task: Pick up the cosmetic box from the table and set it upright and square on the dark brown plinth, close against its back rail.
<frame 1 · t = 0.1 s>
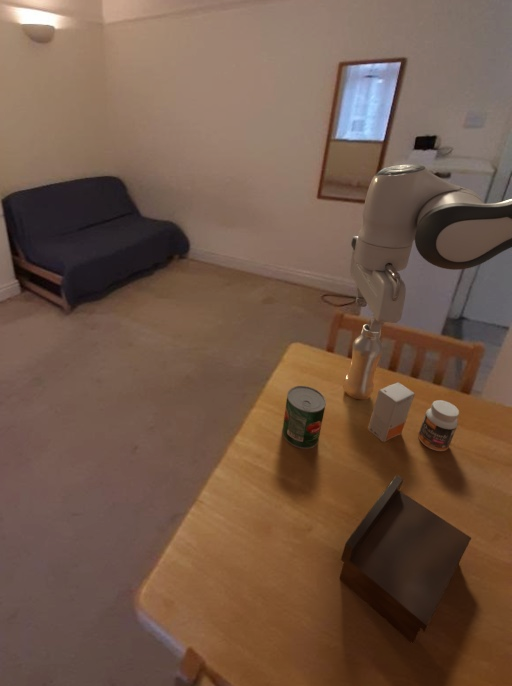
hand: (367, 316, 81), 30 cm above the table, tool pointing down, fingers open, 8 cm apart
plastic bottle: (356, 394, 102), on the table
canned tomato: (300, 435, 92), on the table
pill bottle: (432, 442, 89), on the table
cosmetic box: (384, 432, 92), on the table
dark brown plinth: (398, 567, 67), on the table
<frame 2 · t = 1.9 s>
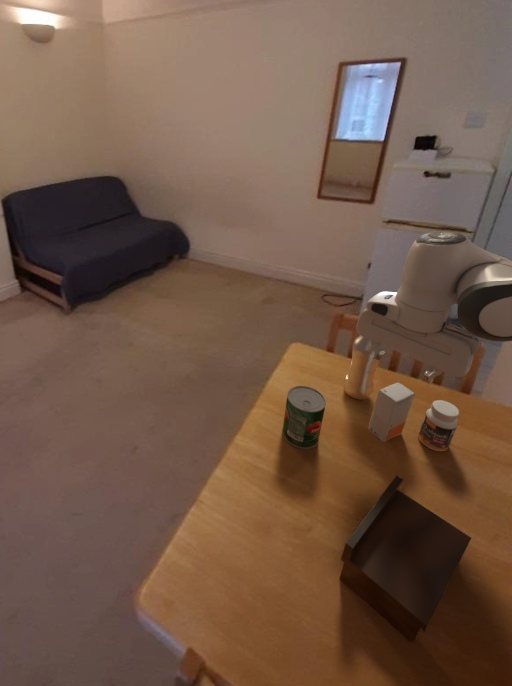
hand: (401, 369, 84), 18 cm above the table, tool pointing down, fingers open, 8 cm apart
nothing on the table moved.
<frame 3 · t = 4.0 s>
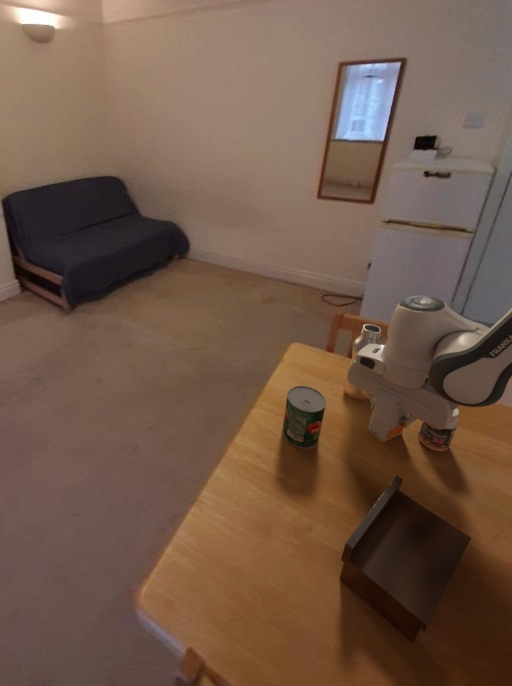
hand: (389, 417, 89), 5 cm above the table, tool pointing down, fingers closed on cosmetic box, 5 cm apart
cosmetic box: (384, 432, 92), on the table, touching gripper
everything else where it was.
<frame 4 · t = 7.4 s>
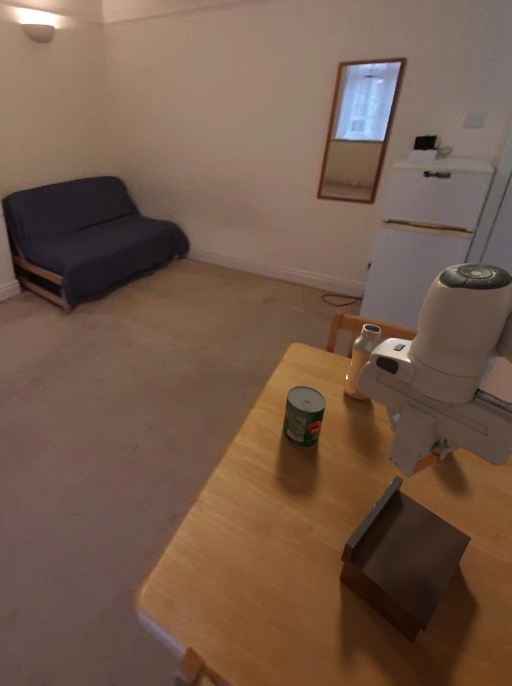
hand: (416, 442, 63), 21 cm above the table, tool pointing down, fingers closed on cosmetic box, 5 cm apart
cosmetic box: (409, 462, 65), point 17 cm above the table, touching gripper
everything else where it was.
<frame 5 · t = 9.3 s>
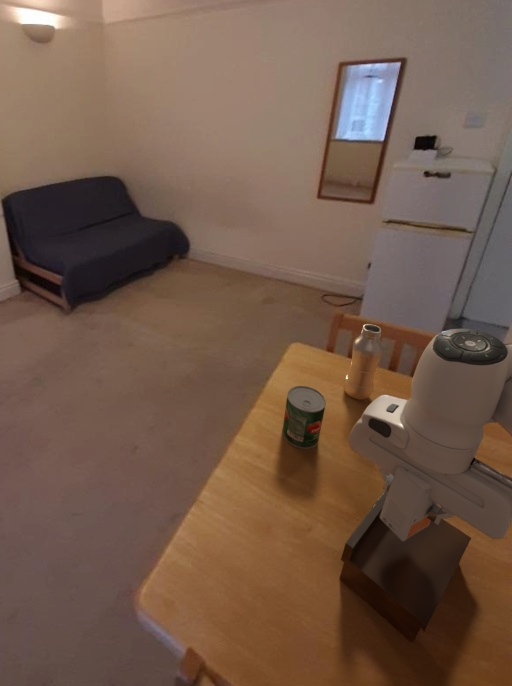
hand: (410, 503, 61), 15 cm above the table, tool pointing down, fingers closed on cosmetic box, 5 cm apart
cosmetic box: (403, 523, 63), point 10 cm above the table, touching gripper
everything else where it was.
when the fingers open (10 cm above the table, at t = 10.9 s): cosmetic box stays where it is, resting on dark brown plinth.
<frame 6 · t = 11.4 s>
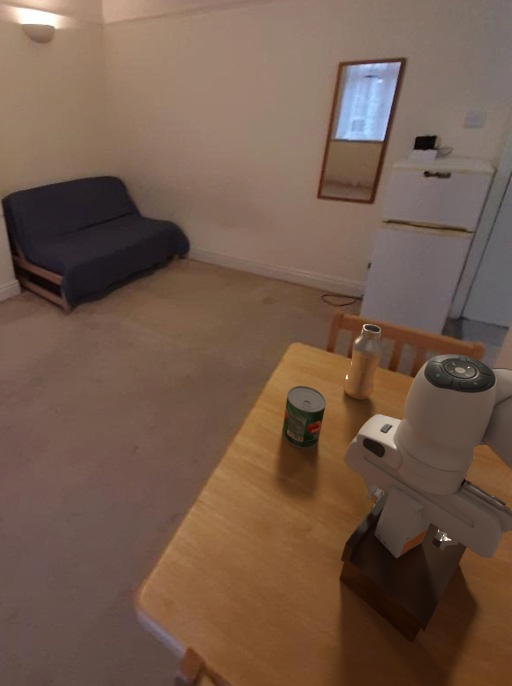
hand: (404, 520, 63), 11 cm above the table, tool pointing down, fingers open, 8 cm apart
cosmetic box: (397, 539, 65), point 6 cm above the table, touching dark brown plinth
everything else where it was.
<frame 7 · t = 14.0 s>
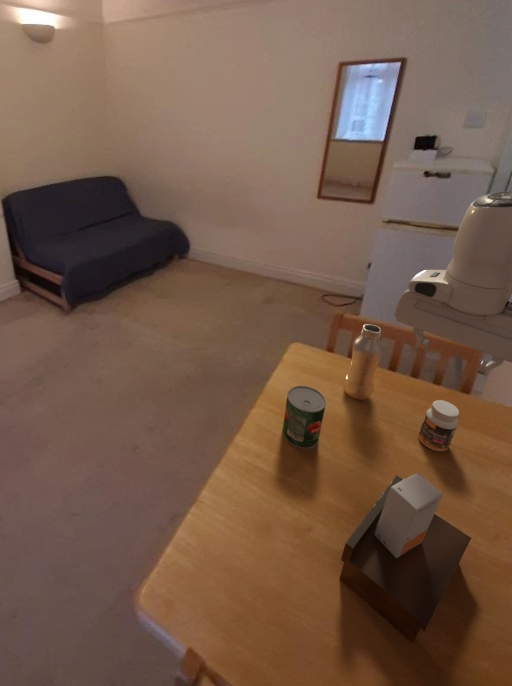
hand: (450, 360, 71), 27 cm above the table, tool pointing down, fingers open, 8 cm apart
nothing on the table moved.
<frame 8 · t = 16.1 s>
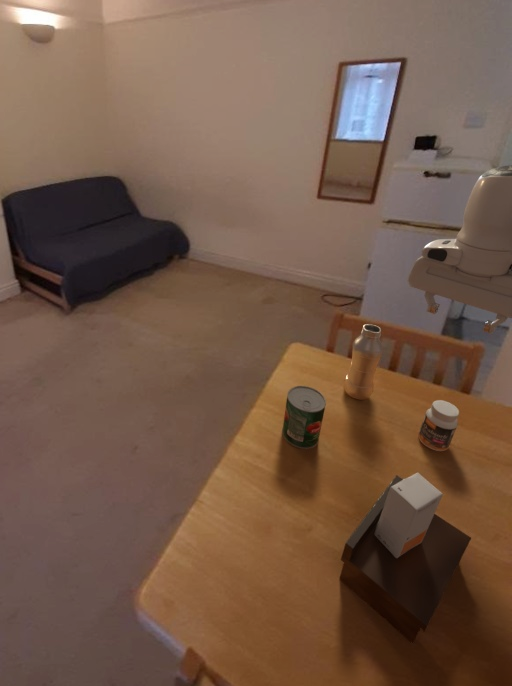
hand: (458, 321, 79), 29 cm above the table, tool pointing down, fingers open, 8 cm apart
nothing on the table moved.
at the end: cosmetic box inside the target area on the dark brown plinth (0.4 cm from its centre), point 5.8 cm above the dark brown plinth's base; cosmetic box tilted 0° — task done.
